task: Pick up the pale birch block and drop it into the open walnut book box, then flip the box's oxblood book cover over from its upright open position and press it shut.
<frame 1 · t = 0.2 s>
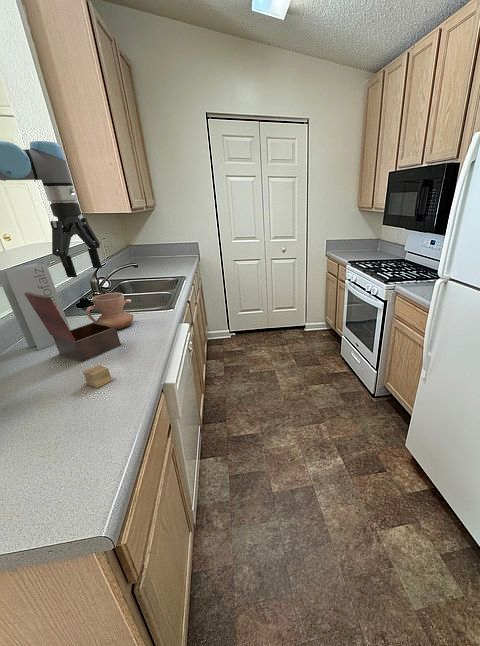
hand: (85, 272, 111), 30 cm above the counter, tool pointing down, fingers open, 13 cm apart
block: (100, 383, 104), on the counter
cover: (50, 317, 112), point 16 cm above the counter, hinge at 100.0°
white lettered carton: (52, 343, 134), on the counter
ceramic jug: (115, 327, 148), on the counter
book box: (91, 350, 126), on the counter
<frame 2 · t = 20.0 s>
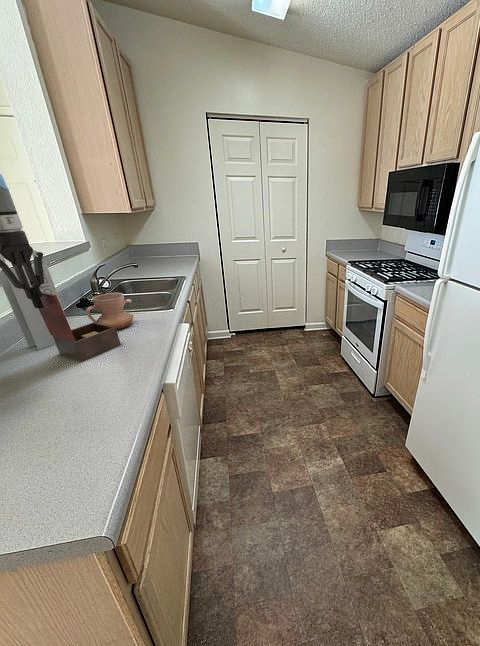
hand: (39, 307, 108), 20 cm above the counter, tool pointing down, fingers closed
block: (95, 346, 128), point 1 cm above the counter, touching book box
cover: (53, 316, 112), point 17 cm above the counter, hinge at 93.1°, touching gripper
everything else where it was.
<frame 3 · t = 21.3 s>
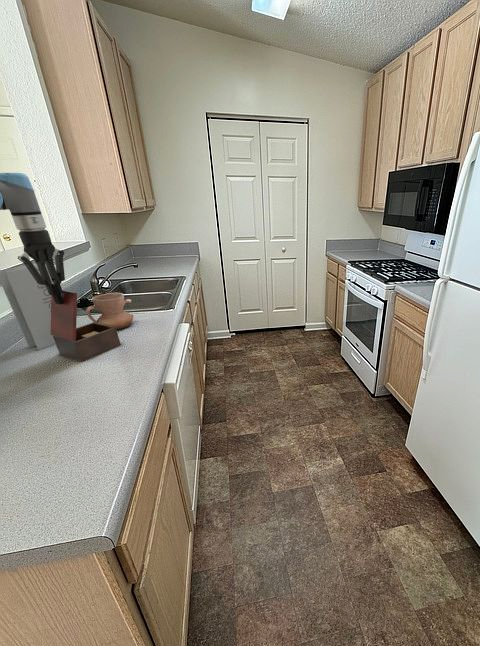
hand: (59, 303, 113), 20 cm above the counter, tool pointing down, fingers closed
cover: (63, 314, 115), point 16 cm above the counter, hinge at 70.0°, touching gripper
everything else where it was.
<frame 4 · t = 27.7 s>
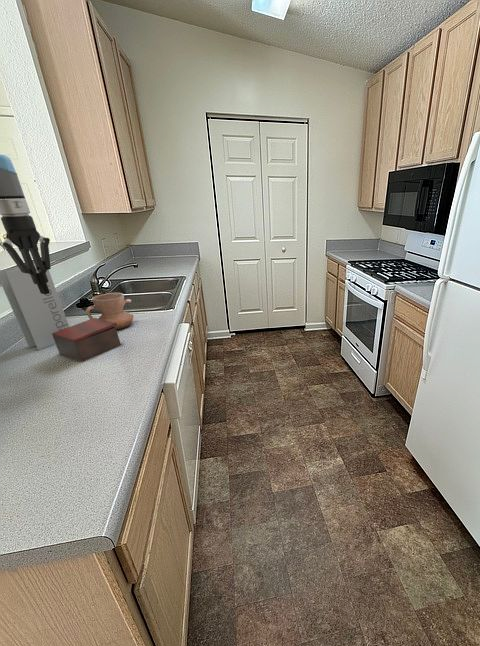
hand: (45, 293, 109), 24 cm above the counter, tool pointing down, fingers closed
cover: (85, 329, 123), point 9 cm above the counter, hinge at 1.9°
everything else where it was.
at the end: block inside the target area in the book box (2.1 cm from its centre), point 0.8 cm above the book box's base; cover at +2° (first picture: +100°) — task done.
